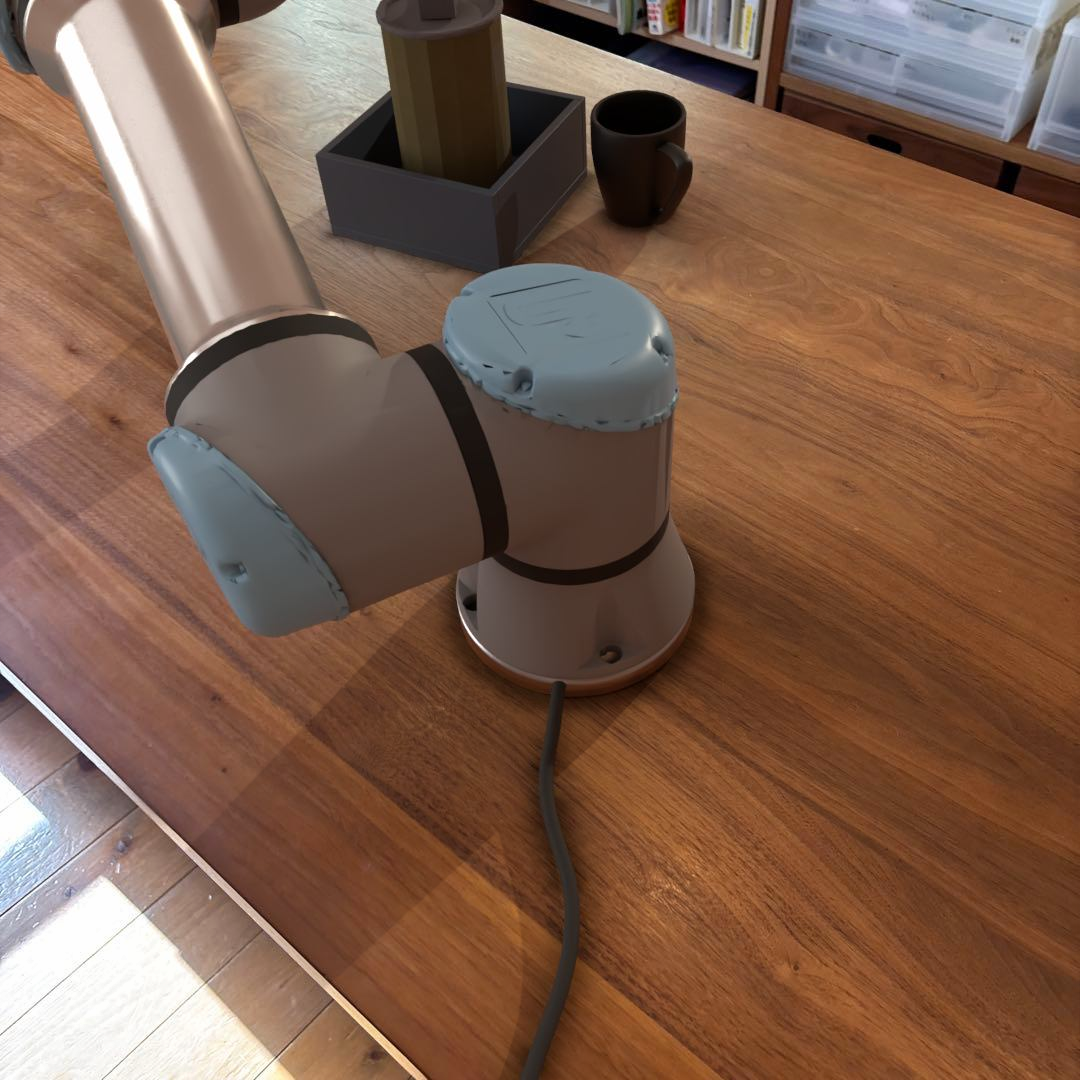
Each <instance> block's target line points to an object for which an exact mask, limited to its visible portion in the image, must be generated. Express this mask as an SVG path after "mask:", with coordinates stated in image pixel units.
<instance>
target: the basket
mask: <svg viewBox="0 0 1080 1080" xmlns="http://www.w3.org/2000/svg"><path fill="white" fill-rule="evenodd" d="M506 86H507V99H508V112H509V124H510V137H511V150H512V162H513V165H512V166H511V167H510V168H509V169H508V170H507V171H506V172H505V173H504V174H503V175H502V176H501V177H500V178H499V180H498V181H497V182H496V183H495V184H494V185H493V186H492V187H491V188H490V189H486V188H481V187H477V186H473V185H468V184H464V183H459V182H455V181H451V180H446V179H442V178H438V177H433V176H429V175H425V174H420V173H416V172H411V171H407V170H403V165H402V158H401V152H400V146H399V140H398V133H397V127H396V121H395V114H394V108H393V102H392V96H391V89H389V90H388V91H387V92H386V93H385V94H384V95H382V96H381V97H380V98H379V99H378V100H376V101H375V103H373V104H372V105H371V106H370V107H369V108H367V109H366V110H365V111H363V113H362V114H360V115H359V116H358V117H357V118H356V119H355V120H354V121H352V122H351V123H350V124H349V125H347V126H346V128H344V129H343V130H342V131H341V132H340V133H338V134H337V135H336V136H335V137H334V138H333V139H331V140H330V141H329V142H328V143H327V144H326V145H324V146H323V147H322V148H321V149H320V150H319V151H317V152H316V153H315V154H314V158H315V162H316V167H317V170H318V174H319V179H320V185H321V189H322V192H323V197H324V201H325V202H324V203H325V206H326V210H327V215H328V219H329V223H330V228H331V231H332V235H334V236H337V237H342V238H345V239H349V240H354V241H357V242H361V243H365V244H368V245H373V246H377V247H380V248H384V249H388V250H391V251H392V250H393V251H395V252H399V253H404V254H407V255H412V256H415V257H419V258H422V259H426V260H431V261H434V262H438V263H442V264H444V265H445V264H446V265H449V266H454V267H458V268H462V269H464V270H465V269H466V270H469V271H473V272H477V273H480V274H483V275H484V274H487V273H489V272H492V271H495V270H499V269H502V268H506V267H511V266H513V264H514V263H515V262H516V261H517V260H518V259H519V257H520V256H521V255H522V254H523V253H524V252H525V250H526V249H527V248H528V247H529V246H530V245H531V243H532V242H533V241H534V240H535V239H536V237H538V235H539V234H540V233H541V232H542V230H543V229H544V228H545V227H546V226H547V224H548V223H549V222H550V221H551V220H552V219H553V218H554V216H555V215H556V214H557V213H558V212H559V210H561V208H562V207H563V206H564V204H566V203H567V201H568V200H569V199H570V197H572V195H573V194H574V193H575V191H576V190H577V189H578V188H579V187H580V186H581V185H582V184H583V182H584V181H585V180H586V179H587V178H588V153H587V152H588V148H587V147H588V146H587V145H588V143H587V141H588V140H587V107H586V106H587V105H586V96H584V95H579V94H575V93H574V94H573V93H570V92H569V93H568V92H563V91H558V90H552V89H547V88H542V87H537V86H531V85H527V84H521V83H515V82H510V81H506Z"/></svg>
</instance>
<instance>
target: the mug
mask: <svg viewBox="0 0 1080 1080" xmlns="http://www.w3.org/2000/svg"><path fill="white" fill-rule="evenodd" d="M687 115H688V114H687V109H686V106H685V105H684V103H683V102H681V100H679V99H678V98H676V97H675V96H672V95H670V94H669V93H666V92H661V91H657V90H649V89H631V90H625V91H624V90H623V91H620V92H616V93H612V94H610V95H607V96H605V97H604V98H601V99H600V100H599V101H598V102H597V103H595V104H594V106H593V107H592V109H591V111H590V116H589V122H590V123H589V125H590V128H589V129H590V151H591V152H590V153H591V160H592V165H593V169H594V174H595V177H596V181H597V185H598V189H599V192H600V195H601V198H602V201H603V204H604V206H605V209H606V214H607V216H608V217H609V219H610V220H611V221H612V222H614V223H616V224H618V225H620V226H623V227H628V228H645V227H649V226H653V225H654V226H662V225H664V224H666V223H667V222H668V221H669V220H670V219H671V218H672V217H673V216H674V214H675V213H676V211H677V209H678V208H679V206H680V205H681V203H682V201H683V199H684V198H685V196H686V194H687V192H688V190H689V188H690V186H691V183H692V179H693V173H694V163H693V160H692V158H691V156H690V154H689V153H688V152H687V151H686V149H685V148H686V135H687V134H686V133H687Z"/></svg>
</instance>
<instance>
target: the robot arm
mask: <svg viewBox="0 0 1080 1080" xmlns="http://www.w3.org/2000/svg"><path fill="white" fill-rule="evenodd" d="M285 2H287V0H0V51H1V53H2V55H3V58H4V59H5V61H6V62H7V64H8V65H9V66H10V68H11V69H12V70H14V71H15V73H18V74H22V75H26V76H29V75H34V76H36V77H39V78H40V79H41V81H42V82H43V83H44V84H45V85H46V86H47V87H48V88H49V89H50V90H51V91H53V92H54V93H56V94H57V95H58V96H60V97H61V98H62V99H64V100H67V101H68V102H69V103H72V104H74V106H75V109H76V112H77V114H78V116H79V119H80V122H81V124H82V127H83V129H84V132H85V135H86V137H87V139H88V142H89V144H90V147H91V150H92V152H93V154H94V157H95V159H96V162H97V164H98V167H99V169H100V172H101V174H102V177H103V180H104V183H105V184H106V187H107V190H108V193H109V194H110V197H111V200H112V203H113V205H114V207H115V210H116V212H117V215H118V218H119V220H120V222H121V225H122V227H123V230H124V233H125V235H126V238H127V240H128V243H129V245H130V248H131V251H132V253H133V255H134V258H135V260H136V263H137V265H138V268H139V271H140V273H141V275H142V278H143V280H144V283H145V286H146V288H147V291H148V294H149V295H150V298H151V301H152V303H153V306H154V309H155V311H156V314H157V317H158V319H159V320H160V324H161V326H162V328H163V329H162V330H163V331H164V333H165V337H166V339H167V341H168V344H169V347H170V349H171V351H172V355H173V357H174V359H175V362H176V364H177V367H178V368H177V369H176V370H175V372H173V375H172V376H171V379H170V381H169V382H168V385H167V387H166V390H165V392H164V401H163V403H164V404H163V405H164V406H163V407H164V414H165V417H166V420H167V423H168V425H169V426H166V427H164V428H162V430H161V431H159V433H157V434H156V435H154V436H152V438H149V440H148V442H147V444H146V450H147V453H148V456H149V458H150V460H151V463H152V465H153V467H154V468H155V471H156V473H157V475H158V476H159V478H160V481H161V482H162V485H163V486H164V488H165V490H166V492H167V494H168V496H169V498H170V500H171V502H172V504H173V505H174V506H175V508H176V510H177V512H178V514H179V516H180V517H181V519H182V520H183V523H184V524H185V527H186V529H187V531H188V533H189V534H190V537H191V538H192V540H193V542H194V544H195V546H196V548H197V550H198V551H199V553H200V555H201V557H202V559H203V561H204V562H205V564H206V566H207V568H208V570H209V571H210V573H211V575H212V577H213V578H214V580H215V582H216V584H217V586H218V587H219V589H220V591H221V592H222V593H221V594H222V595H223V596H224V598H225V599H226V601H227V603H228V604H229V606H230V608H231V610H232V611H233V613H234V614H235V616H236V617H237V619H238V620H239V622H240V623H241V624H242V625H243V627H244V628H246V629H247V630H249V631H250V632H252V633H253V634H256V635H257V636H261V637H265V638H280V637H285V636H288V635H292V634H294V633H297V632H300V631H302V630H306V629H308V628H312V627H314V626H317V625H321V624H324V623H327V622H342V621H343V620H345V619H347V618H348V617H349V616H351V614H352V613H355V612H359V611H360V610H362V609H365V608H368V607H369V606H372V605H374V604H377V603H380V602H382V601H384V600H387V599H390V598H391V597H394V596H397V595H399V594H401V593H404V592H406V591H409V590H411V589H414V588H416V587H419V586H422V585H424V584H426V583H429V582H432V581H434V580H437V579H439V578H442V577H445V576H448V575H450V574H453V573H455V572H457V575H456V582H455V599H456V605H457V611H458V616H459V621H460V622H459V623H460V626H461V628H462V632H463V634H464V637H465V639H466V641H467V643H468V645H469V647H470V648H471V649H472V651H473V652H474V653H475V655H476V656H477V657H478V658H479V659H480V660H481V662H482V663H483V664H484V665H486V666H487V668H489V669H491V671H492V672H493V673H496V675H498V676H500V677H501V678H503V679H504V680H506V681H508V682H510V683H512V684H514V685H517V686H518V687H520V688H523V689H526V690H529V691H532V692H536V693H540V694H544V695H549V696H550V699H549V700H550V701H549V706H548V712H547V720H546V726H545V733H544V739H543V744H542V748H541V753H540V760H539V767H538V768H539V769H538V794H539V801H540V809H541V814H542V819H543V823H544V827H545V830H546V834H547V838H548V841H549V844H550V847H551V851H552V853H553V857H554V860H555V864H556V867H557V871H558V874H559V879H560V883H561V889H562V897H563V909H564V913H563V915H564V916H563V918H564V919H563V923H564V924H563V935H562V943H561V950H560V956H559V960H558V961H559V962H558V966H557V970H556V974H555V977H554V981H553V985H552V988H551V991H550V995H549V998H548V1001H547V1002H546V1003H547V1004H546V1006H545V1008H544V1012H543V1014H542V1017H541V1020H540V1022H539V1025H538V1027H537V1028H538V1029H537V1030H536V1033H535V1036H534V1039H533V1040H532V1044H531V1046H530V1050H529V1052H528V1055H527V1058H526V1061H525V1063H524V1066H523V1069H522V1072H521V1075H520V1079H519V1080H540V1076H541V1073H542V1070H543V1067H544V1065H545V1061H546V1059H547V1055H548V1053H549V1050H550V1047H551V1044H552V1042H553V1039H554V1036H555V1034H556V1031H557V1028H558V1025H559V1023H560V1020H561V1017H562V1015H563V1011H564V1008H565V1005H566V1003H567V999H568V997H569V992H570V988H571V985H572V983H573V978H574V973H575V968H576V965H577V964H576V963H577V957H578V953H579V944H580V932H581V901H580V894H579V887H578V882H577V877H576V873H575V872H576V871H575V869H574V865H573V862H572V858H571V855H570V852H569V849H568V846H567V844H566V840H565V837H564V834H563V831H562V828H561V823H560V819H559V815H558V811H557V805H556V800H555V788H554V771H555V761H556V756H557V752H558V747H559V741H560V735H561V727H562V719H563V713H564V705H565V698H566V697H568V698H570V697H571V698H573V697H575V698H576V697H590V696H591V697H592V696H598V695H604V694H608V693H612V692H616V691H619V690H622V689H625V688H628V687H630V686H632V685H634V684H636V683H638V682H641V681H642V680H644V679H646V678H648V677H649V676H651V675H652V674H653V673H655V672H656V671H658V670H659V669H660V668H661V667H663V666H664V665H665V664H666V663H667V662H668V661H669V660H670V659H671V658H672V657H673V656H674V655H675V654H676V652H677V651H678V649H679V648H680V647H681V646H682V643H683V642H684V640H685V638H686V637H687V634H688V631H689V629H690V626H691V624H692V619H693V615H694V609H695V608H694V607H695V595H696V578H695V571H694V566H693V563H692V560H691V558H690V555H689V553H688V550H687V549H686V546H685V545H684V543H683V541H682V539H681V537H680V533H679V531H678V528H677V526H676V524H675V520H674V519H673V517H672V514H671V511H670V507H671V506H670V505H671V489H672V473H673V472H672V471H673V453H674V451H673V449H674V431H675V411H676V409H677V406H678V403H679V398H680V387H679V382H678V377H677V376H678V375H677V364H676V363H677V362H676V347H675V340H674V336H673V332H672V330H671V328H670V325H669V322H668V321H667V320H666V318H665V316H664V315H663V313H662V311H661V310H660V309H659V307H657V305H656V304H655V303H654V302H653V301H651V299H650V298H648V297H647V296H646V295H645V294H643V292H641V291H640V290H638V289H637V288H636V287H633V286H632V285H630V284H629V283H628V282H625V281H623V280H621V279H619V278H617V277H614V276H612V275H610V274H607V273H604V272H600V271H593V270H589V269H587V268H584V267H582V266H577V265H572V264H564V263H551V262H550V263H548V262H547V263H546V262H536V263H524V264H518V265H511V267H506V268H502V269H499V270H495V271H492V272H489V273H487V274H484V273H483V274H482V275H480V276H478V277H476V278H475V279H473V280H471V281H470V282H468V283H467V284H466V285H464V286H463V287H462V288H461V290H460V293H459V295H457V296H455V297H454V298H453V299H452V300H451V302H450V303H449V304H448V307H447V310H446V313H445V317H444V322H443V323H442V329H441V335H442V338H440V339H437V340H435V341H432V342H429V343H426V344H423V345H420V346H417V347H413V348H411V349H408V350H405V351H402V352H399V353H395V354H392V355H390V356H387V357H383V358H382V355H381V353H380V352H379V349H378V347H377V345H376V343H375V341H374V339H373V337H372V336H371V334H370V332H369V331H368V329H367V328H366V327H365V326H364V325H363V324H362V323H360V322H359V321H358V320H356V319H354V318H353V317H350V316H348V315H346V314H343V313H341V312H337V311H333V310H329V308H328V307H327V305H326V303H325V301H324V298H323V296H322V294H321V292H320V290H319V288H318V286H317V283H316V281H315V279H314V277H313V275H312V272H311V270H310V268H309V267H308V264H307V262H306V260H305V258H304V255H303V253H302V251H301V249H300V247H299V245H298V242H297V240H296V238H295V236H294V234H293V232H292V230H291V228H290V226H289V223H288V221H287V219H286V217H285V215H284V213H283V210H282V208H281V207H280V204H279V202H278V200H277V198H276V196H275V193H274V191H273V188H272V187H271V185H270V183H269V181H268V178H267V176H266V174H265V173H264V170H263V168H262V165H261V164H260V161H259V159H258V157H257V155H256V153H255V151H254V149H253V146H252V144H251V142H250V140H249V137H248V135H247V133H246V132H245V129H244V127H243V124H242V123H241V121H240V119H239V116H238V114H237V113H236V110H235V108H234V106H233V104H232V101H231V99H230V97H229V95H228V93H227V91H226V89H225V87H224V85H223V82H222V80H221V78H220V76H219V74H218V72H217V70H216V67H215V65H214V63H213V61H212V59H211V58H212V55H213V53H214V50H215V46H216V41H217V34H218V30H219V29H223V28H227V27H230V26H235V25H237V24H243V23H246V22H250V21H253V20H255V19H258V18H261V17H263V16H266V15H267V14H269V13H271V12H273V11H274V10H276V9H277V8H279V7H280V6H281V5H282V4H284V3H285Z"/></svg>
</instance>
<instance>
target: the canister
mask: <svg viewBox="0 0 1080 1080" xmlns="http://www.w3.org/2000/svg"><path fill="white" fill-rule="evenodd" d="M503 10H504V0H380V1H379V3H378V5H377V6H376V10H375V18H376V22H377V24H378V25H379V26H380V32H381V39H382V45H383V50H384V51H383V52H384V55H385V56H384V58H385V63H386V70H387V77H388V83H389V88H390V89H389V90H391V96H392V102H393V108H394V114H395V121H396V127H397V133H398V140H399V146H400V152H401V158H402V165H403V170H407V171H411V172H416V173H420V174H425V175H429V176H433V177H438V178H442V179H446V180H451V181H455V182H459V183H464V184H468V185H473V186H477V187H481V188H486V189H490V188H491V187H492V186H493V185H494V184H495V183H496V182H497V181H498V180H499V178H500V177H501V176H502V175H503V174H504V173H505V172H506V171H507V170H508V169H509V168H510V167H511V166H512V165H513V162H512V150H511V137H510V124H509V112H508V99H507V86H506V82H507V75H506V74H507V73H506V62H505V61H506V60H505V51H504V50H505V49H504V48H505V47H504V36H503V25H502V24H503V23H502V12H503Z"/></svg>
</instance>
